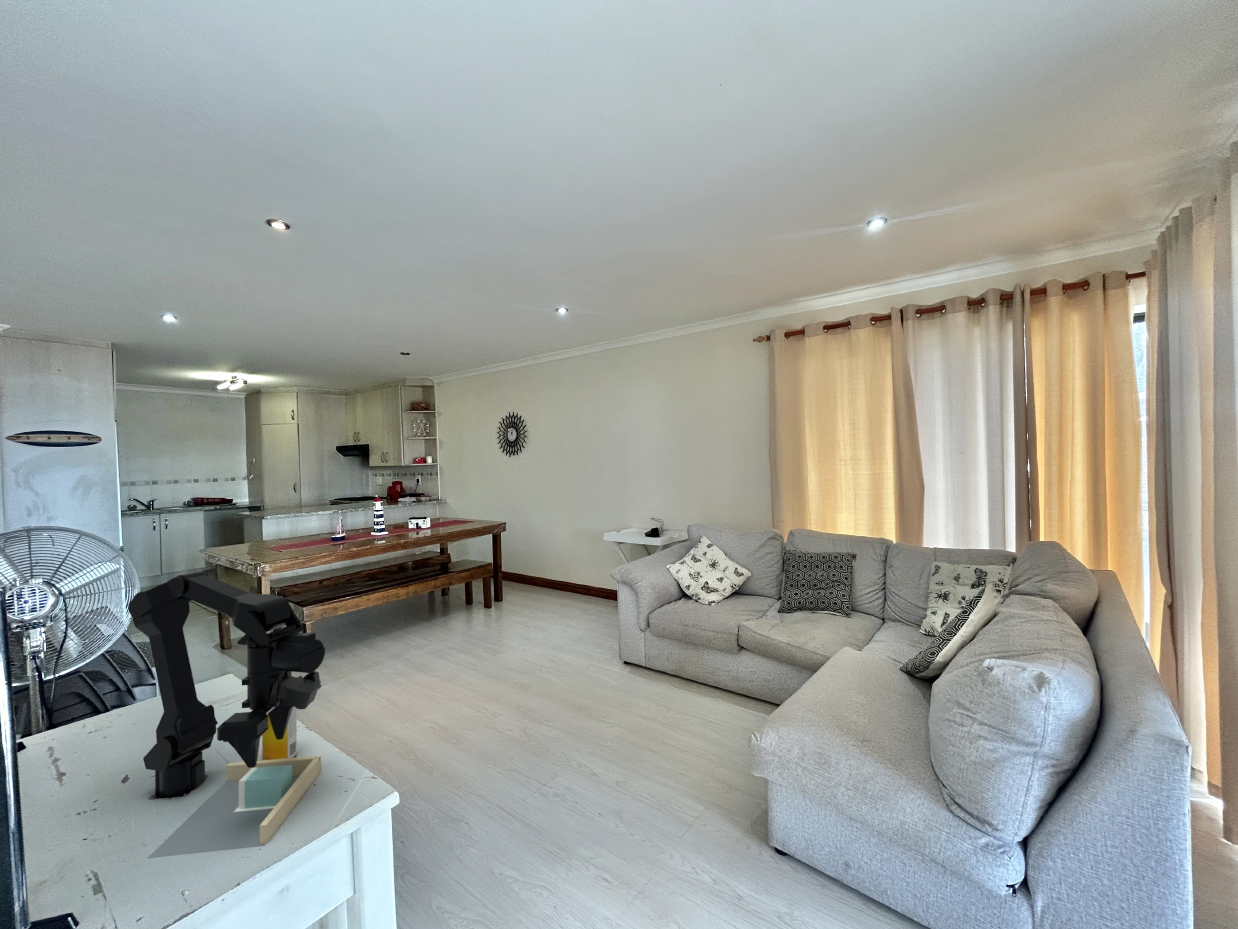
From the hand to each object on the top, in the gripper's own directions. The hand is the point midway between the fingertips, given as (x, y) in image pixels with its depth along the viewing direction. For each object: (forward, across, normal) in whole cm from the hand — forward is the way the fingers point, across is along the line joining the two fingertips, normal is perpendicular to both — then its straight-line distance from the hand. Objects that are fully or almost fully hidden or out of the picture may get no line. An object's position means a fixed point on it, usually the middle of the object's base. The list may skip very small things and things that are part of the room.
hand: (266, 752), depth 92 cm
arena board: (+10, -2, +3) cm, 10 cm away
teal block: (+9, 0, 0) cm, 9 cm away
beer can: (+10, +15, +5) cm, 19 cm away
